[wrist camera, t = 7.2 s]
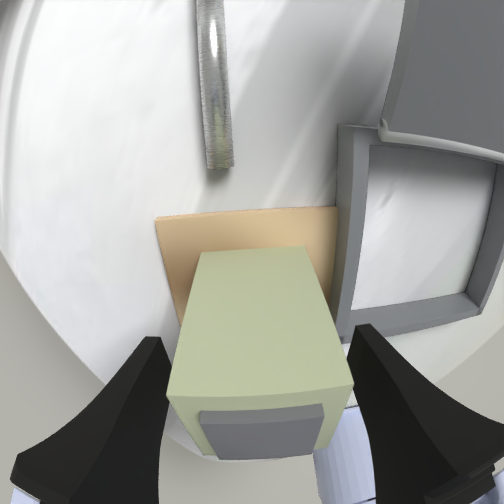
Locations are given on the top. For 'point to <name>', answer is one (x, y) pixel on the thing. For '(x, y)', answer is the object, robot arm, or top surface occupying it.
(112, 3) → the top surface
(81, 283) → the top surface
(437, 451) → the robot arm
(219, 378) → the block
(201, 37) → the rod
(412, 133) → the lid
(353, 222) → the case
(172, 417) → the top surface
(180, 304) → the mat
